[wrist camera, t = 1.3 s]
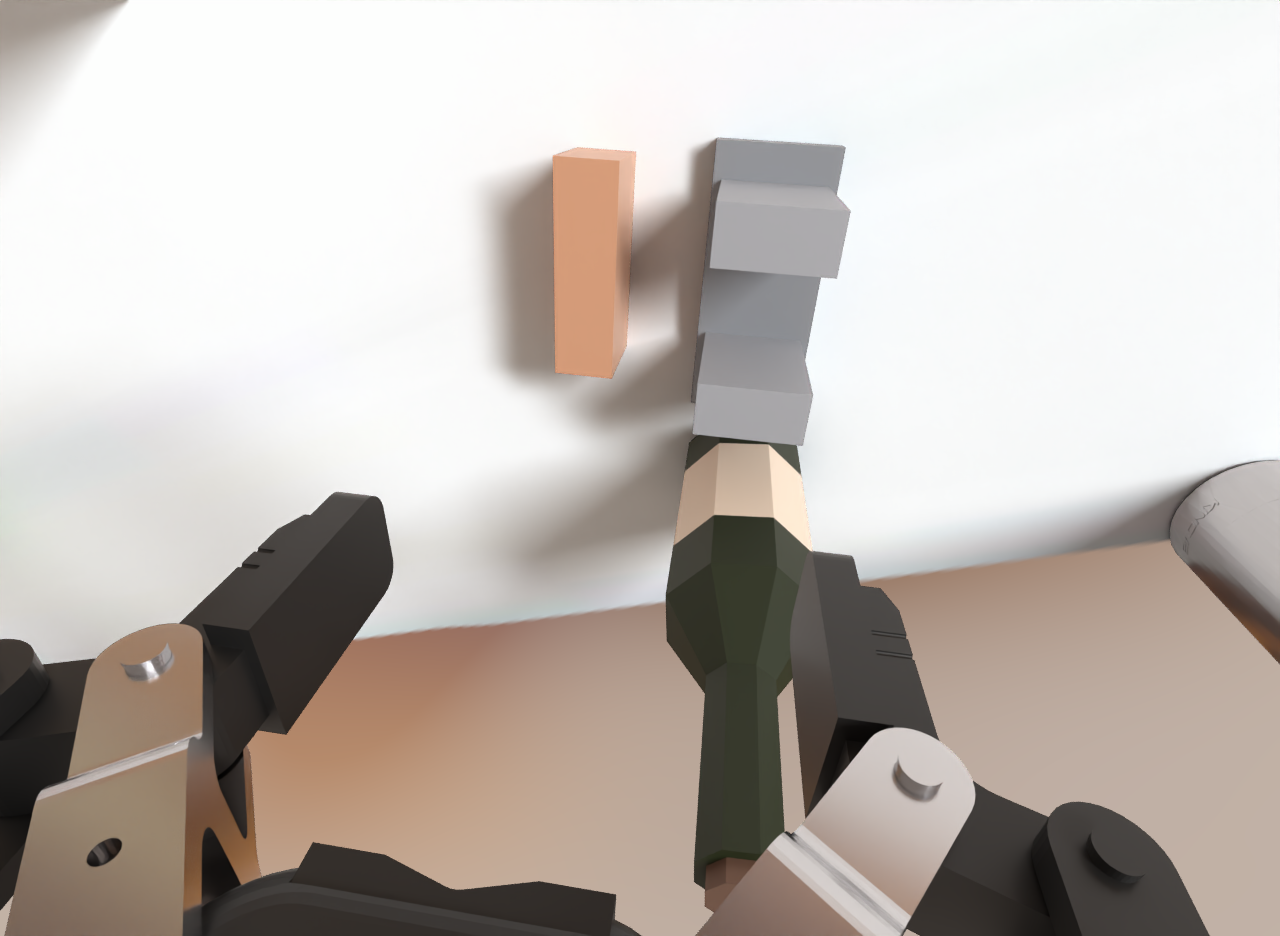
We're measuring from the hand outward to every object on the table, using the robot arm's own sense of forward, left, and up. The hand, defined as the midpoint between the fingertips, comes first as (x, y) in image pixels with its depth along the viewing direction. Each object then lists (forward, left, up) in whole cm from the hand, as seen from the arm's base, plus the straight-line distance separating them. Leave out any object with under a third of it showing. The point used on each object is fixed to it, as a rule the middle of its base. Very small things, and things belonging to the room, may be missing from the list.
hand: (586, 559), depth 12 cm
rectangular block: (+6, +2, -33) cm, 33 cm away
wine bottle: (-5, +16, -33) cm, 36 cm away
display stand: (-4, +3, -32) cm, 33 cm away
